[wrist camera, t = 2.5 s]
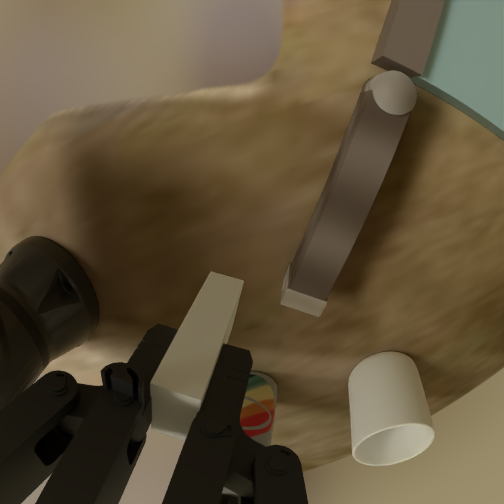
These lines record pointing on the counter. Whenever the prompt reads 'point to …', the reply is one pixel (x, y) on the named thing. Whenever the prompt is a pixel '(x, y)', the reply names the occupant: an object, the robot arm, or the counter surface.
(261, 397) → the lotion bottle
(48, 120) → the counter surface
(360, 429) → the cup
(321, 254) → the folding leg
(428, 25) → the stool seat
